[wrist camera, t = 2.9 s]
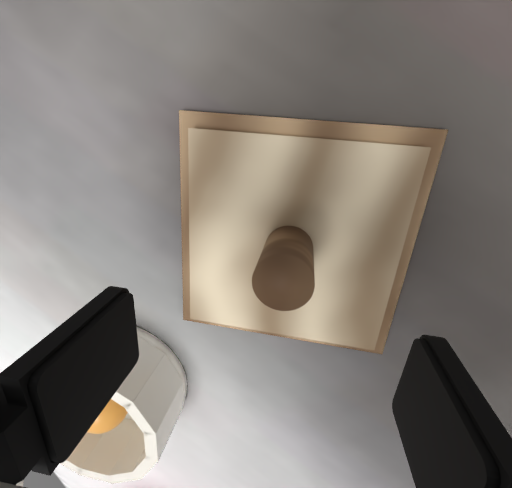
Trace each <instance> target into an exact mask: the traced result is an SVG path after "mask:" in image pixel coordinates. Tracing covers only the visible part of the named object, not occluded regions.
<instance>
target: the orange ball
mask: <svg viewBox="0 0 512 488" xmlns="http://www.w3.org/2000/svg"><path fill="white" fill-rule="evenodd" d="M127 413H128V412H127V411H126V409H125V408H124V407H123V406H121V405H119V404H118V403H116V402H115V401H113V400H112V399H110V401H109V402H108V404H107V405H106V406H105V408H104V409H103V411H102V412H101V413H100V415H99V416H98V417H97V419H96V420H95V422H94V423H93V424H92V426H91V427H90V429H89V430H88V431H87V432H88V433H92V434H102V433H105V432H108V431H110V430H112V429H114V428H115V427H117V426H118V425H119V424H120V423H121V422H122V421H123V420H124V418H125V417H126V415H127Z"/></svg>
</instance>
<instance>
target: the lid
mask: <svg viewBox="0 0 512 488" xmlns="http://www.w3.org/2000/svg"><path fill="white" fill-rule="evenodd" d="M430 150H431V148H430V147H419V146H407V145H394V144H382V143H370V142H357V141H345V140H333V139H320V138H308V137H295V136H283V135H271V134H258V133H246V132H233V131H221V130H209V129H196V128H188V159H189V255H190V319H194V320H200V321H206V322H212V323H218V324H223V325H229V326H235V327H241V328H247V329H252V330H258V331H264V332H270V333H276V334H281V335H287V336H293V337H299V338H305V339H310V340H316V341H322V342H328V343H334V344H339V345H345V346H351V347H357V348H363V349H368V350H375V346H376V342H377V339H378V335H379V332H380V328H381V325H382V321H383V317H384V314H385V310H386V307H387V303H388V300H389V296H390V292H391V289H392V285H393V282H394V278H395V275H396V271H397V268H398V264H399V260H400V257H401V253H402V250H403V246H404V243H405V239H406V235H407V232H408V228H409V225H410V221H411V218H412V214H413V210H414V207H415V203H416V200H417V196H418V193H419V189H420V185H421V182H422V178H423V175H424V171H425V168H426V164H427V161H428V157H429V153H430Z"/></svg>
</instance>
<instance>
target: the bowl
mask: <svg viewBox="0 0 512 488" xmlns="http://www.w3.org/2000/svg"><path fill="white" fill-rule="evenodd" d="M136 328H137V337H138V346H139V358H138V361H137V363H136V365H135V366H134V368H133V369H132V370H131V372H130V373H129V375H128V376H127V377H126V379H125V380H124V381H123V383H122V384H121V386H120V387H119V388H118V390H117V391H116V393H115V394H114V395H113V397H112V398H111V399H112V400H113V401H115V402H116V403H118V404H119V405H121V406H123V407H124V408H125V409H126V411H127V412H128V413H127V415H126V417H125V418H124V420H123V421H122V422H121V423H120V424H119V425H118V426H117V427H115V428H114V429H112V430H110V431H108V432H105V433H102V434H92V433H88V432H87V433H86V434H85V435H84V437H83V438H82V440H81V441H80V442H79V444H78V445H77V446H76V448H75V449H74V451H73V452H72V453H71V455H70V456H69V457H68V459H67V460H66V461H64V462H63V463H60V464H62V465H63V466H65V467H67V468H68V469H70V470H72V471H73V472H75V473H77V474H78V475H81V476H85V477H89V478H92V479H96V480H100V481H104V482H108V483H111V484H115V483H122V482H129V481H136V480H142V479H143V477H144V476H145V475H146V474H147V473H148V472H149V471H150V470H151V469H152V468H153V467H154V466H155V465H156V464H157V463H158V461H159V459H160V457H161V454H162V452H163V450H164V448H165V446H166V444H167V441H168V439H169V437H170V435H171V433H172V431H173V428H174V426H175V424H176V422H177V420H178V418H179V416H180V413H181V411H182V409H183V402H184V400H185V397H186V394H187V378H186V374H185V371H184V369H183V366H182V365H181V363H180V361H179V359H178V358H177V357H176V355H175V354H174V353H173V351H172V350H171V349H170V348H169V347H168V346H167V345H166V344H165V343H163V342H162V341H161V340H160V339H158V338H157V337H156V336H154V335H152V334H151V333H149V332H147V331H145V330H143V329H141V328H138V327H136Z"/></svg>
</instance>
